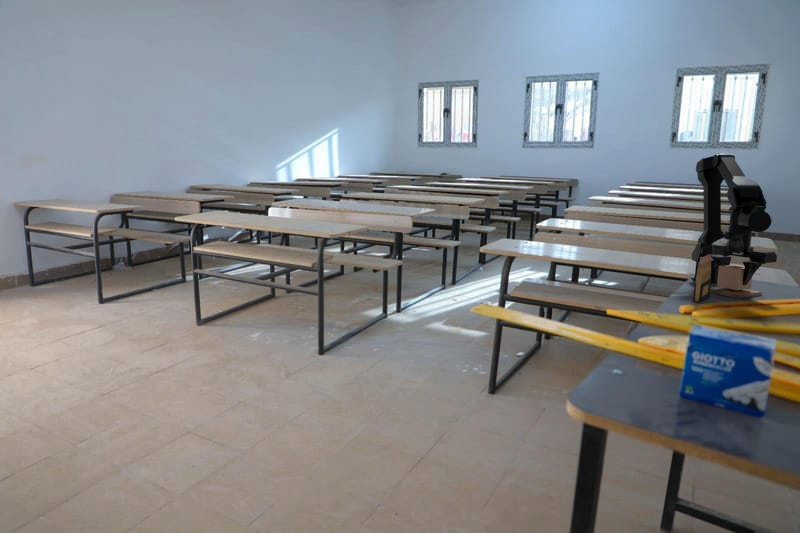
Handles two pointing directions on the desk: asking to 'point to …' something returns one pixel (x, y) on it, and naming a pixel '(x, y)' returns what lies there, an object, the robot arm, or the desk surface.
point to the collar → (732, 277)
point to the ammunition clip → (703, 280)
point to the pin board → (735, 292)
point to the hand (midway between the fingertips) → (734, 282)
